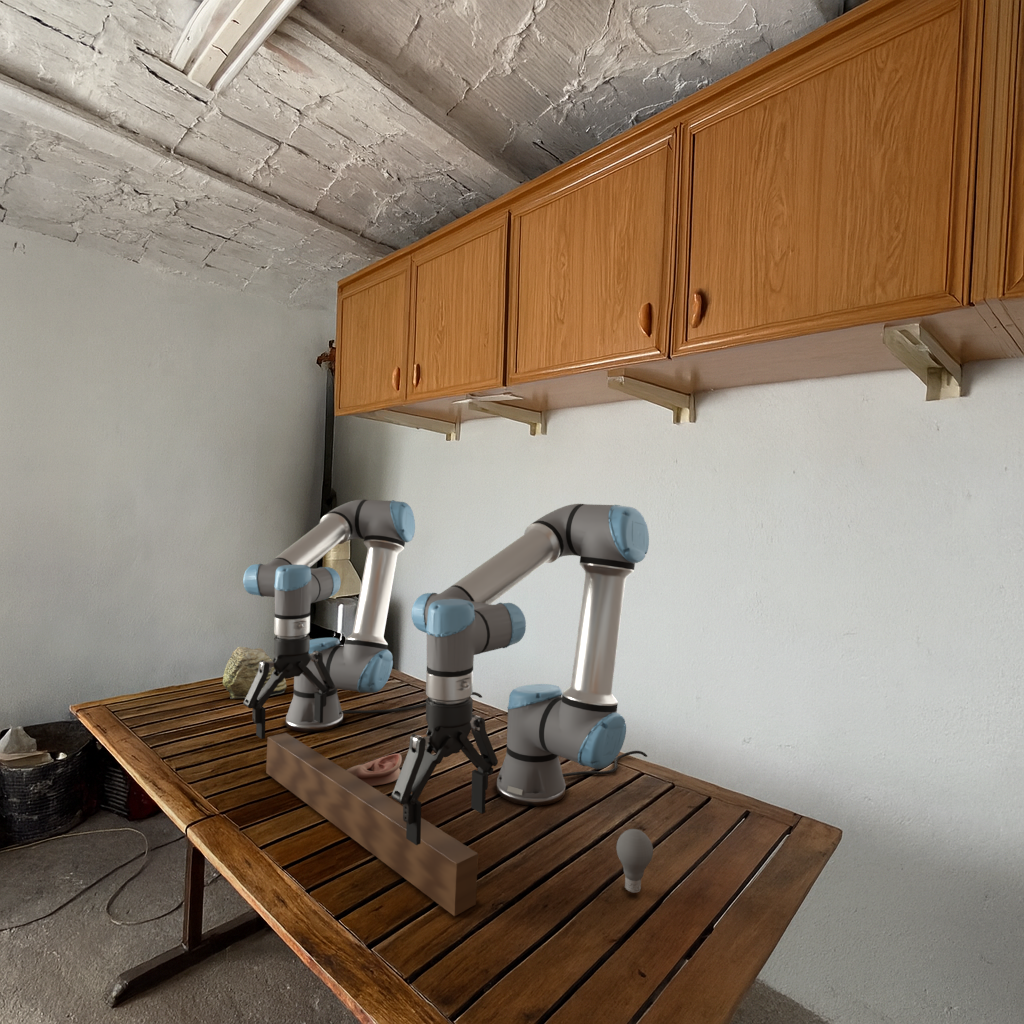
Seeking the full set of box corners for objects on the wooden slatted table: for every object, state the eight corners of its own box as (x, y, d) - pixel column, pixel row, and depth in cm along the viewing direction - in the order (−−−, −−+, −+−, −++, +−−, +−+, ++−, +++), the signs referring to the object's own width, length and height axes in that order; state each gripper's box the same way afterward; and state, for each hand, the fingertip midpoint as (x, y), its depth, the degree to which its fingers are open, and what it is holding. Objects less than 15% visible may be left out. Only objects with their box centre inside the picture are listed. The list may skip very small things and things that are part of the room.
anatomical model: (331, 765, 140) (354, 745, 151) (331, 782, 140) (354, 762, 151) (388, 772, 137) (407, 752, 148) (387, 791, 137) (406, 769, 148)
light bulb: (610, 879, 108) (613, 822, 108) (644, 879, 109) (647, 822, 109) (619, 902, 102) (622, 840, 102) (655, 901, 103) (658, 840, 103)
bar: (266, 772, 144) (267, 737, 144) (284, 767, 147) (286, 732, 147) (454, 916, 97) (456, 863, 97) (475, 904, 100) (478, 853, 100)
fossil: (218, 695, 195) (220, 647, 195) (278, 685, 208) (279, 640, 207) (228, 703, 189) (230, 653, 188) (289, 692, 201) (290, 645, 201)
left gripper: (242, 647, 129) (241, 749, 130) (350, 630, 147) (348, 719, 148) (228, 640, 134) (226, 738, 136) (334, 624, 152) (332, 710, 153)
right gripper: (398, 722, 91) (397, 866, 92) (519, 685, 108) (517, 806, 109) (370, 708, 96) (368, 845, 97) (489, 675, 114) (487, 791, 115)
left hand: (290, 728), depth 142 cm, fingers open, 13 cm apart
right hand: (447, 825), depth 103 cm, fingers open, 13 cm apart
